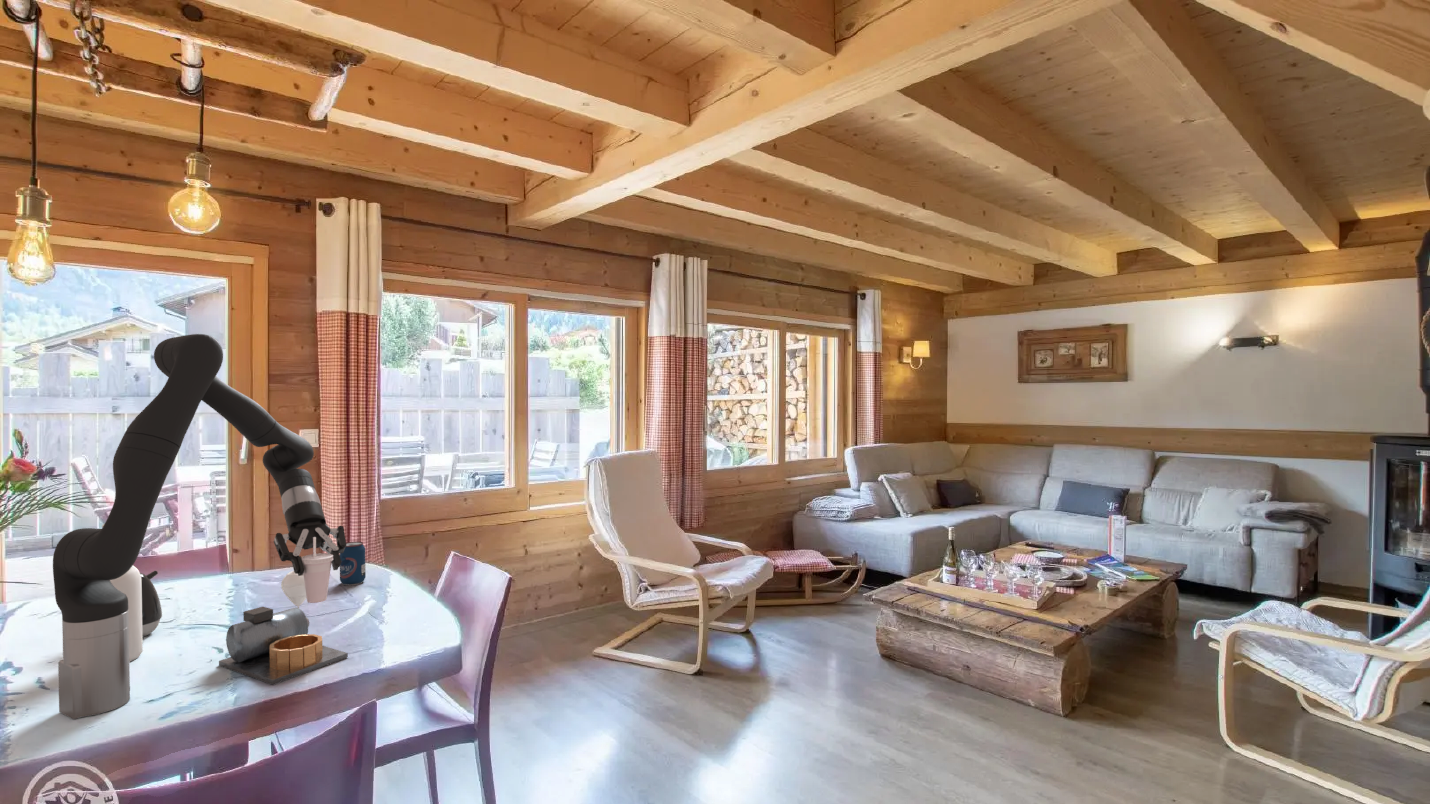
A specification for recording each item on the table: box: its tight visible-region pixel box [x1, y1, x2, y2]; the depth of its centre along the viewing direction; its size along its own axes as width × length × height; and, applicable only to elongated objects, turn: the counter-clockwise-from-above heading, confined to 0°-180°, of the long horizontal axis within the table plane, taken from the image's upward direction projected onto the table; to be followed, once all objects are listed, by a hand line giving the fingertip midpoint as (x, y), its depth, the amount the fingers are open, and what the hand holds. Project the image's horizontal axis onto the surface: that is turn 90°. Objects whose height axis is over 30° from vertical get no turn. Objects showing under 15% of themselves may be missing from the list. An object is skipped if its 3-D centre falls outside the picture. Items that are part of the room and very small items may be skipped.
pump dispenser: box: [140, 570, 163, 638], centre depth 166 cm, size 10×10×15 cm
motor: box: [218, 606, 349, 686], centre depth 151 cm, size 16×20×11 cm
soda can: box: [339, 541, 366, 586], centre depth 211 cm, size 7×7×12 cm
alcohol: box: [101, 523, 144, 663], centre depth 152 cm, size 9×9×30 cm
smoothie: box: [301, 537, 333, 604], centre depth 153 cm, size 6×6×14 cm
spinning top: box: [280, 570, 307, 609], centre depth 186 cm, size 8×8×12 cm
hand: (319, 570), depth 152 cm, fingers closed on smoothie, 6 cm apart
